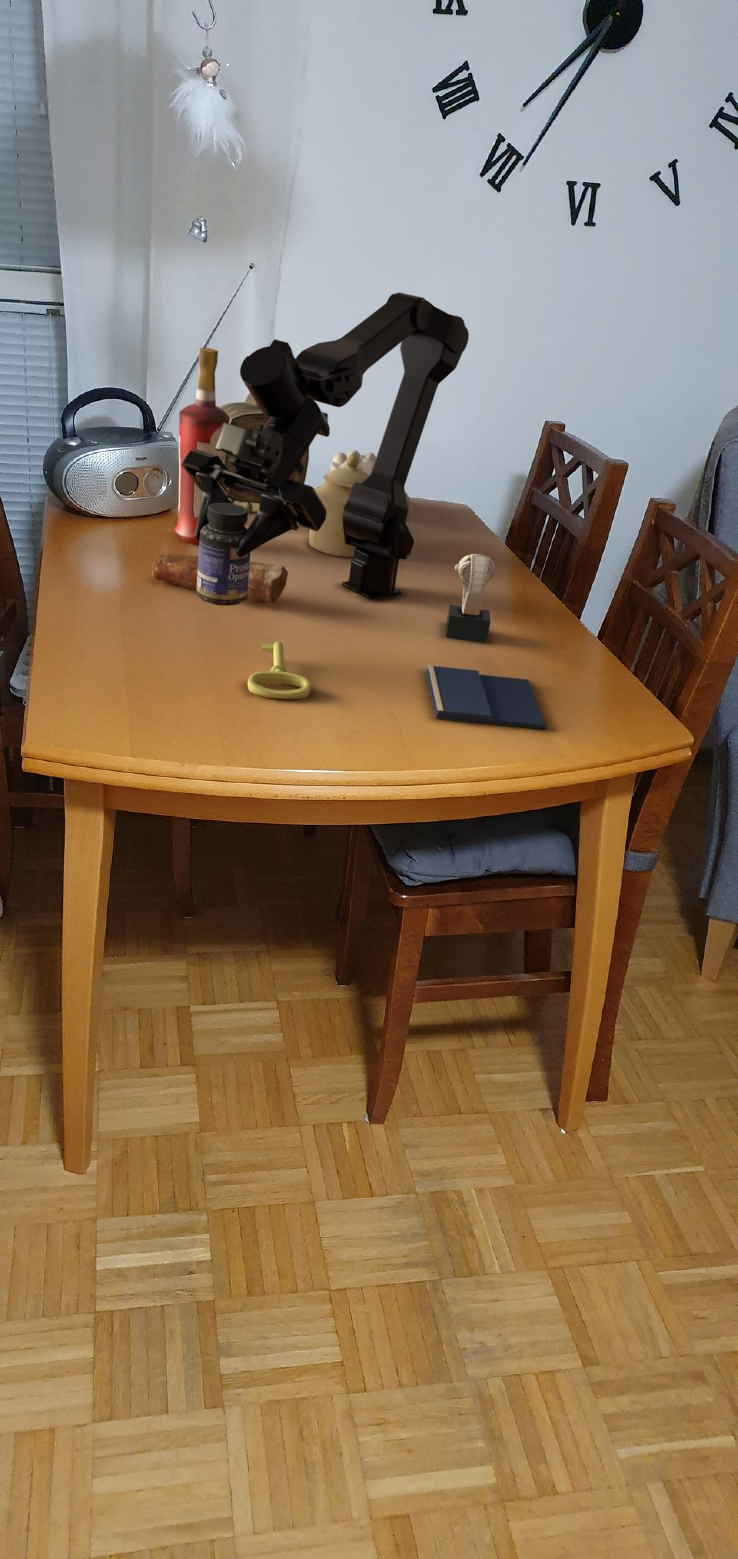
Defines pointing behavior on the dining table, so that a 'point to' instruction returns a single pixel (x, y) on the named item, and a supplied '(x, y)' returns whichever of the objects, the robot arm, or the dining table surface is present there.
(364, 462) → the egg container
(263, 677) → the key
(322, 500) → the sugar bowl
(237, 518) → the pill bottle
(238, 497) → the tabletop clock
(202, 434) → the liquor
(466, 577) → the watch
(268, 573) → the brown rough cylinder
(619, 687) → the dining table surface
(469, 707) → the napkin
